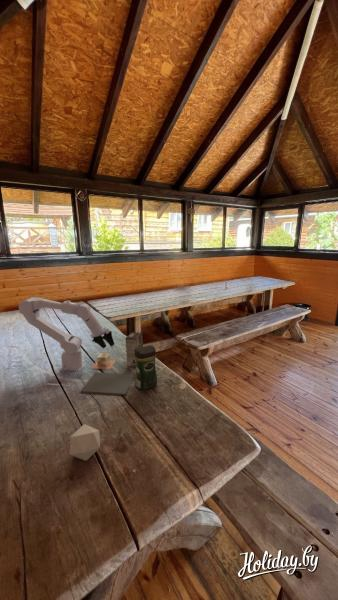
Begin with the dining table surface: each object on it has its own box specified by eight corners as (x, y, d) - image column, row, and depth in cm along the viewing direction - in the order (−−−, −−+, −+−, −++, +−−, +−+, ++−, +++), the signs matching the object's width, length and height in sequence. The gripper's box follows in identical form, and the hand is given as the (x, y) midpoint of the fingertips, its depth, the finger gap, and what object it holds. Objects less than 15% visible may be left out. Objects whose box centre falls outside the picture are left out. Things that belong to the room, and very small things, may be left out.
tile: (91, 369, 126) (91, 368, 126) (98, 360, 136) (98, 359, 136) (109, 370, 125) (109, 369, 125) (116, 361, 135) (116, 360, 135)
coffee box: (132, 358, 138) (131, 331, 134) (143, 359, 137) (142, 332, 133) (126, 366, 129) (125, 337, 125) (138, 367, 128) (137, 338, 124)
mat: (80, 392, 106) (80, 390, 106) (95, 373, 122) (95, 372, 122) (125, 395, 104) (125, 393, 104) (134, 375, 120) (134, 374, 120)
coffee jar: (151, 377, 118) (151, 341, 114) (159, 385, 111) (159, 347, 107) (133, 383, 113) (131, 346, 109) (139, 392, 107) (138, 352, 102)
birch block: (97, 366, 128) (97, 357, 127) (101, 361, 133) (100, 353, 132) (106, 366, 128) (106, 357, 127) (110, 362, 133) (109, 353, 131)
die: (82, 440, 81) (62, 429, 75) (106, 427, 81) (87, 415, 75) (82, 468, 75) (60, 459, 69) (108, 454, 74) (87, 444, 68)
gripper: (106, 317, 122) (121, 339, 125) (92, 323, 132) (106, 343, 135) (97, 325, 117) (113, 348, 120) (82, 331, 126) (97, 351, 130)
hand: (108, 346), depth 127 cm, fingers open, 7 cm apart
